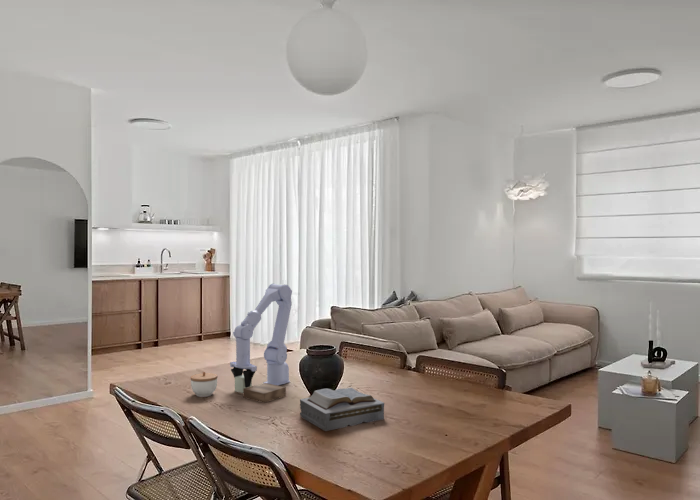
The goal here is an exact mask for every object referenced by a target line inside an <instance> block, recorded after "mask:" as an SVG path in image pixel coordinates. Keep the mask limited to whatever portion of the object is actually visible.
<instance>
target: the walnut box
mask: <svg viewBox="0 0 700 500" xmlns="http://www.w3.org/2000/svg"><path fill="white" fill-rule="evenodd" d="M242 394H243V396H242V397H243V398H244V399H248V400H252V401H255V402H256V401H257V402H258V403H259V402H260V403H268V402H270V401H274V400H278V399H280V398H284V397H286V396H287V387H285V386H281V385H273V384H268V383H263V382H262V383H260V384H259V383H258V384H256V385H252V387H248V388H244V389H243V393H242Z"/></svg>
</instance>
